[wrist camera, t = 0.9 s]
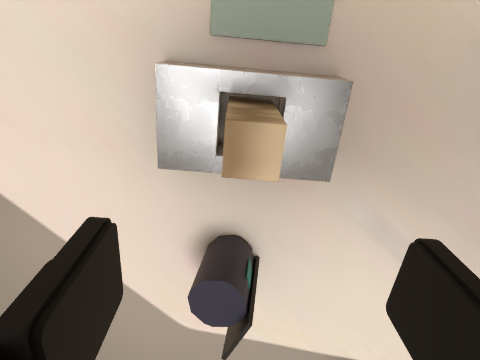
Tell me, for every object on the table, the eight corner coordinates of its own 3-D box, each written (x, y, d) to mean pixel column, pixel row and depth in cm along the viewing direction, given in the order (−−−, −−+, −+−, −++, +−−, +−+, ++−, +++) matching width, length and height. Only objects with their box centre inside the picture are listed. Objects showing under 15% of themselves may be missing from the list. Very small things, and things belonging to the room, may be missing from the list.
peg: (271, 99, 28) (287, 125, 19) (266, 139, 30) (278, 181, 21) (229, 95, 28) (225, 119, 19) (226, 136, 30) (221, 177, 21)
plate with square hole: (339, 77, 27) (352, 81, 24) (320, 167, 31) (329, 181, 28) (164, 61, 27) (155, 63, 24) (166, 155, 30) (158, 168, 27)
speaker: (273, 264, 36) (274, 338, 26) (238, 286, 38) (226, 363, 28) (231, 221, 34) (216, 283, 25) (197, 247, 36) (170, 314, 27)
